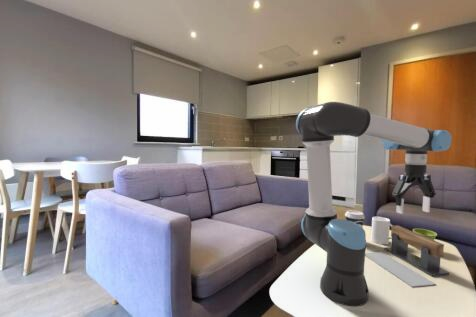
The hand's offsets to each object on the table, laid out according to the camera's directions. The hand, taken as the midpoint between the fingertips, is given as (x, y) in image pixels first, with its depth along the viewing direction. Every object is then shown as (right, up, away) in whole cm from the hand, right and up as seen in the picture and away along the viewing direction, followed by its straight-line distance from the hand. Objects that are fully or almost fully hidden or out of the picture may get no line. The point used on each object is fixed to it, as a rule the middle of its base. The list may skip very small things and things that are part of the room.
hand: (412, 212), depth 105 cm
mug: (-1, -20, +20) cm, 29 cm away
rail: (0, -14, 0) cm, 14 cm away
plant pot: (+14, -21, +13) cm, 29 cm away
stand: (0, -21, 0) cm, 21 cm away
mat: (-12, -22, -6) cm, 25 cm away
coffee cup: (-15, -20, +22) cm, 33 cm away
